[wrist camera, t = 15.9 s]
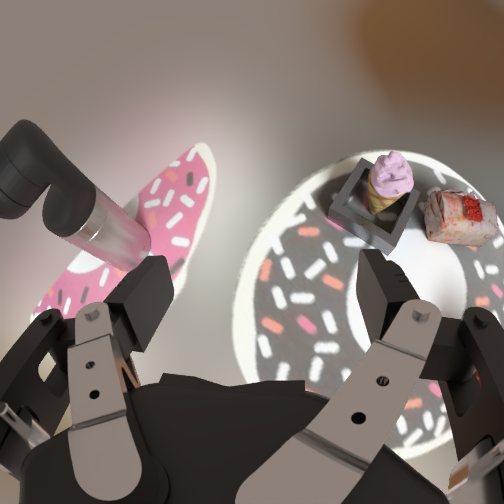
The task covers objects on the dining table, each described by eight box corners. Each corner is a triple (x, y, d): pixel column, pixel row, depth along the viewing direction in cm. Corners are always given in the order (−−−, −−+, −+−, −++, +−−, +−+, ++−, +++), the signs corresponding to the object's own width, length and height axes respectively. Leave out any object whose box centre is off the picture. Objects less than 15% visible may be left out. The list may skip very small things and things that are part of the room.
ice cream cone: (381, 190, 46) (406, 138, 32) (398, 220, 44) (430, 173, 30) (350, 202, 47) (368, 148, 32) (366, 233, 44) (393, 186, 30)
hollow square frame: (327, 218, 46) (329, 207, 43) (358, 170, 48) (361, 157, 45) (387, 255, 43) (395, 247, 39) (413, 203, 45) (420, 192, 41)
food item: (422, 246, 42) (447, 222, 33) (418, 205, 45) (438, 176, 35) (479, 251, 40) (508, 232, 30) (473, 213, 42) (498, 189, 33)
